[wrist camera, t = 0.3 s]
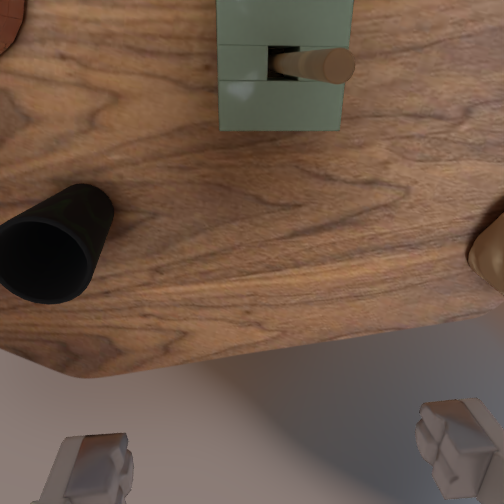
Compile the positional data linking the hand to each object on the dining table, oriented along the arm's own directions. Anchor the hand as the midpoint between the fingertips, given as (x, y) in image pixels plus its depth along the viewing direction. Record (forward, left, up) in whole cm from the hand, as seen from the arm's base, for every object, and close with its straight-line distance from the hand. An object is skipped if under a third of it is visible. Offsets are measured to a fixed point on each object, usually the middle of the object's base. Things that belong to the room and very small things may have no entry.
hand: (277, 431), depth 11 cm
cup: (+5, -15, -33) cm, 36 cm away
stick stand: (-9, +4, -32) cm, 34 cm away
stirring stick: (-9, +4, -32) cm, 34 cm away
